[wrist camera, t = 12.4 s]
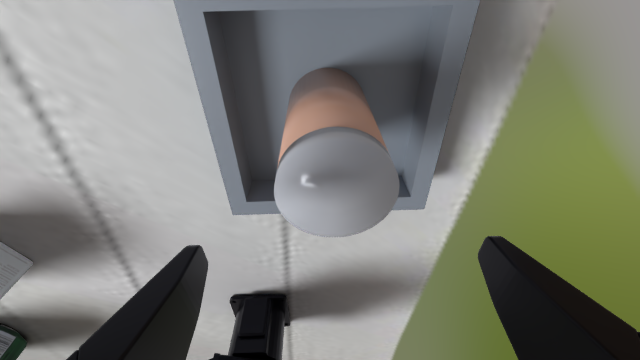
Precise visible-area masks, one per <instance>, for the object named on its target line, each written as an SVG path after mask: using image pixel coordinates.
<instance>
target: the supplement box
mask: <svg viewBox="0 0 640 360" xmlns="http://www.w3.org/2000/svg"><path fill="white" fill-rule="evenodd" d="M32 265H33V262H32V261H31V260H29V259H28V258H26V257H25V256H23V255H22V254H20V253H18V252H16V251H15V250H13V249H12V248H10V247H8V246H7V245H5V244H3V243H2V242H0V299H1V298H2V297H3V296H4V295H5V294H6V293H7V292H8V291H9V290H10V289H11V287H12V286H13V285H14V284H15V283H16V282H17V281H18V280H19V279H20V278H21V277H22V276H23V274H24V273H25V272H26V271H27V270H28V269H29V268H30V267H31V266H32Z"/></svg>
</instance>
